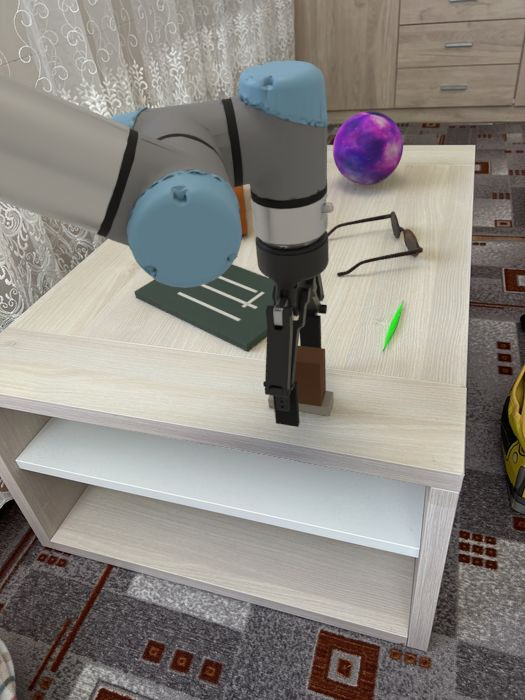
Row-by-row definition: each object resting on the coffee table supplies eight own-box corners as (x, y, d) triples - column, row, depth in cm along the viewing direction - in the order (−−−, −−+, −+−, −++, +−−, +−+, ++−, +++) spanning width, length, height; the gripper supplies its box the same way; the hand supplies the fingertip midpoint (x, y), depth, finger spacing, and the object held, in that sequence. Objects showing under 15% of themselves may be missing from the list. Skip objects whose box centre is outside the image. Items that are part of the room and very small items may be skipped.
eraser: (268, 407, 72) (263, 357, 66) (274, 391, 74) (269, 342, 68) (329, 416, 69) (328, 365, 64) (333, 400, 72) (333, 349, 66)
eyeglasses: (421, 264, 95) (424, 238, 92) (338, 279, 94) (339, 253, 91) (390, 228, 107) (392, 203, 104) (316, 240, 105) (316, 216, 102)
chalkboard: (135, 297, 95) (133, 291, 94) (201, 257, 104) (200, 251, 103) (247, 351, 81) (246, 344, 80) (312, 300, 90) (311, 293, 89)
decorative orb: (346, 200, 118) (346, 128, 109) (324, 175, 130) (323, 109, 120) (411, 188, 120) (418, 117, 110) (384, 165, 131) (388, 98, 122)
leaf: (406, 302, 87) (406, 298, 87) (385, 356, 78) (385, 351, 77) (400, 301, 88) (400, 297, 87) (378, 355, 78) (378, 350, 77)
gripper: (299, 302, 46) (307, 466, 60) (348, 185, 64) (346, 332, 78) (216, 294, 48) (242, 454, 62) (285, 183, 66) (294, 327, 80)
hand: (300, 387), depth 70 cm, fingers open, 12 cm apart
